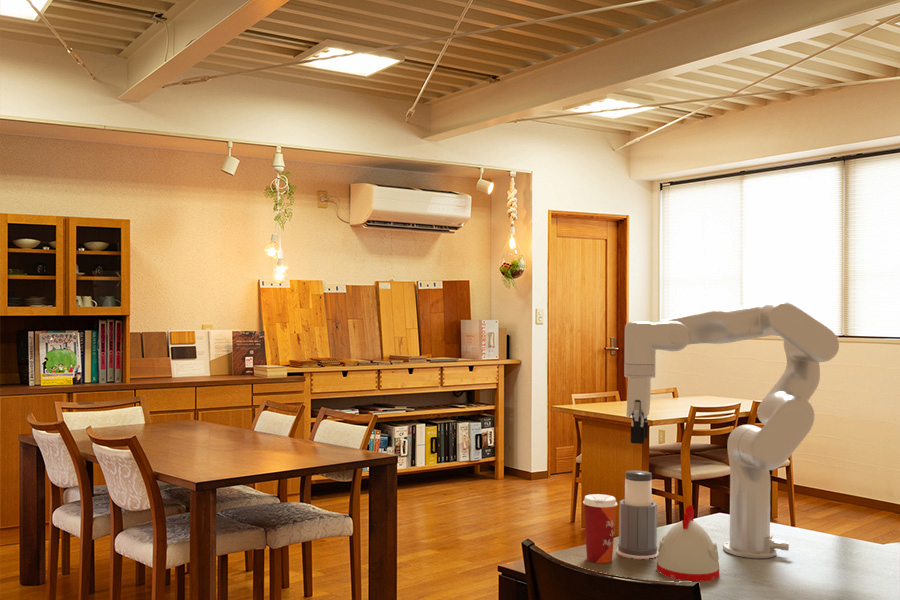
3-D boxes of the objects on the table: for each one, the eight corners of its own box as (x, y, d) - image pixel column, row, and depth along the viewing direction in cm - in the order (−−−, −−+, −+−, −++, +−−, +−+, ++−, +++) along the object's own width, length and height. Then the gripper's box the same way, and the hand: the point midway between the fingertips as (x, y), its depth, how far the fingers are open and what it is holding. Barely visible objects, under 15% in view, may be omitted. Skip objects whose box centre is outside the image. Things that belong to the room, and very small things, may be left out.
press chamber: (662, 551, 208) (663, 501, 209) (652, 561, 200) (652, 509, 200) (623, 545, 213) (624, 496, 213) (611, 555, 204) (612, 504, 204)
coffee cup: (616, 566, 196) (617, 502, 196) (581, 563, 198) (582, 500, 198) (616, 555, 204) (617, 494, 204) (582, 553, 206) (583, 492, 206)
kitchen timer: (724, 568, 195) (725, 504, 195) (712, 585, 183) (713, 517, 183) (665, 559, 202) (666, 497, 202) (649, 575, 190) (650, 509, 190)
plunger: (653, 542, 208) (654, 472, 208) (647, 548, 202) (647, 476, 202) (628, 538, 211) (629, 469, 211) (621, 544, 205) (622, 473, 205)
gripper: (628, 368, 216) (627, 434, 216) (620, 373, 200) (619, 444, 200) (658, 369, 214) (657, 436, 214) (652, 374, 197) (652, 446, 197)
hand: (639, 440), depth 207 cm, fingers open, 9 cm apart
